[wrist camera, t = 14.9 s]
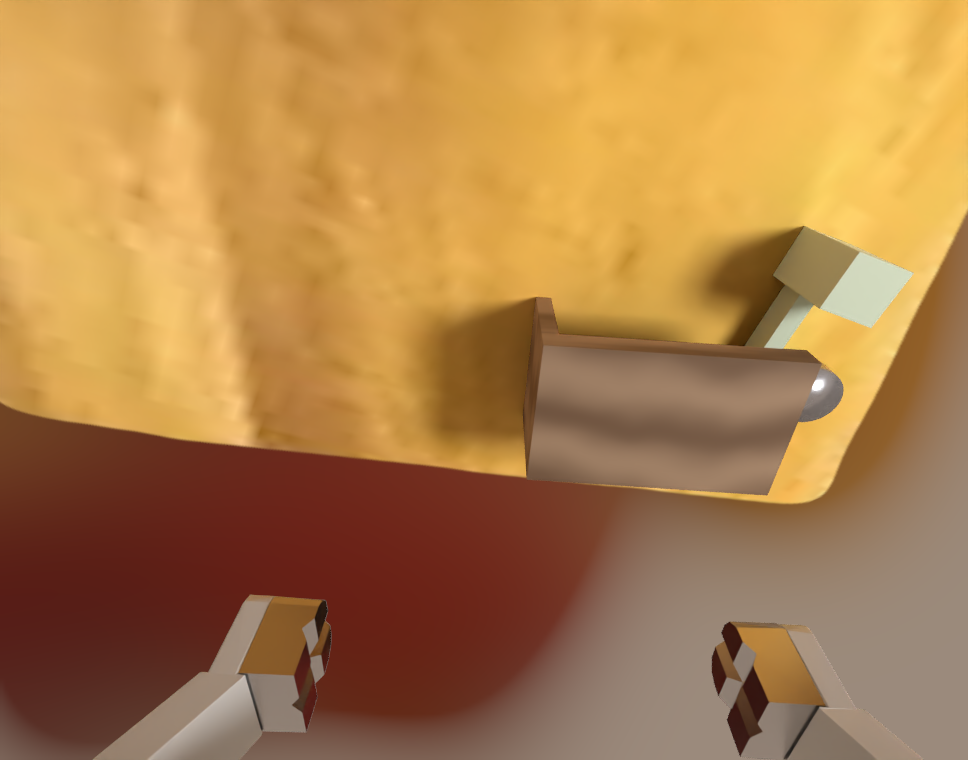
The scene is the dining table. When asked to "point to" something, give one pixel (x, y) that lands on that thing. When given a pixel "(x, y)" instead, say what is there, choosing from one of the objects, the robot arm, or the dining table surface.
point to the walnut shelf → (659, 410)
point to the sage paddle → (827, 286)
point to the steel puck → (822, 395)
